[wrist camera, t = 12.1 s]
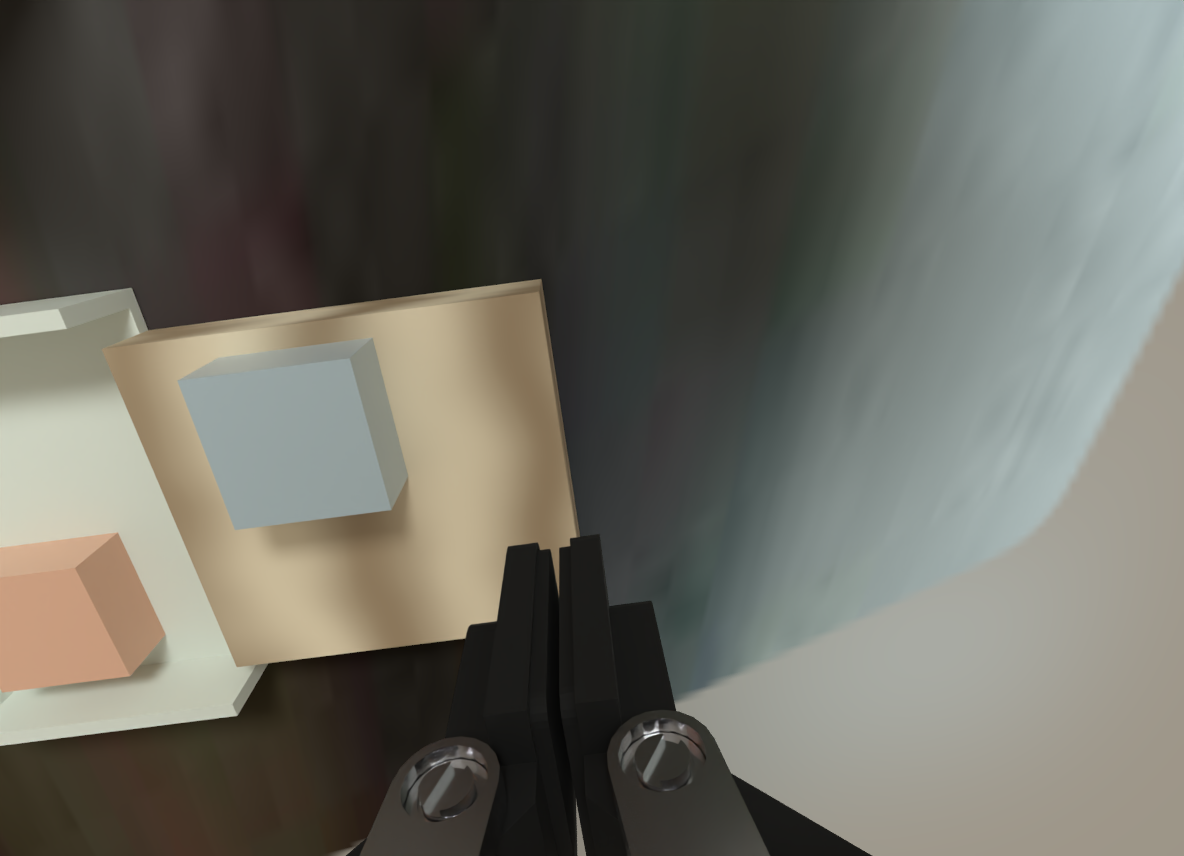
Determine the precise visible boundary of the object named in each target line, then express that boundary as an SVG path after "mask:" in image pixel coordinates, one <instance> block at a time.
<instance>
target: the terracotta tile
mask: <svg viewBox="0 0 1184 856" xmlns="http://www.w3.org/2000/svg"><path fill="white" fill-rule="evenodd" d="M164 636H165V632H164V630H163V628H162V625H161V623H160V621H159V619H158V617H157V615H156V613H155V611H154V608H153V606H152V604H151V602H150V600H149V598H148V596H147V593H146V591H145V589H144V587H143V585H142V583H141V581H140V579H139V576H138V574H137V572H136V570H135V568H134V566H133V564H132V561H131V559H130V557H129V555H128V553H127V551H126V549H125V547H124V544H123V542H122V540H121V538H120V536H119V534H118V532H117V533H109V534H101V535H94V536H86V537H78V538H71V539H63V540H55V541H47V542H40V543H32V544H24V545H17V546H9V547H1V548H0V689H1V691H2V693H3V692H11V691H19V690H27V689H34V688H42V687H50V686H58V685H66V684H73V683H81V682H89V681H97V680H105V679H113V678H120V677H128V676H131V675H132V674H133V672H134V671H135V670H136V669H137V668H138V666H139V665H140V664H141V663H142V662H143V661H144V659H145V658H146V657H147V656H148V655H149V653H150V652H151V651H152V650H153V649H154V648H155V646H156V645H157V644H158V643H159V642H160V640H161V639H162V638H163V637H164Z"/></svg>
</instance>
